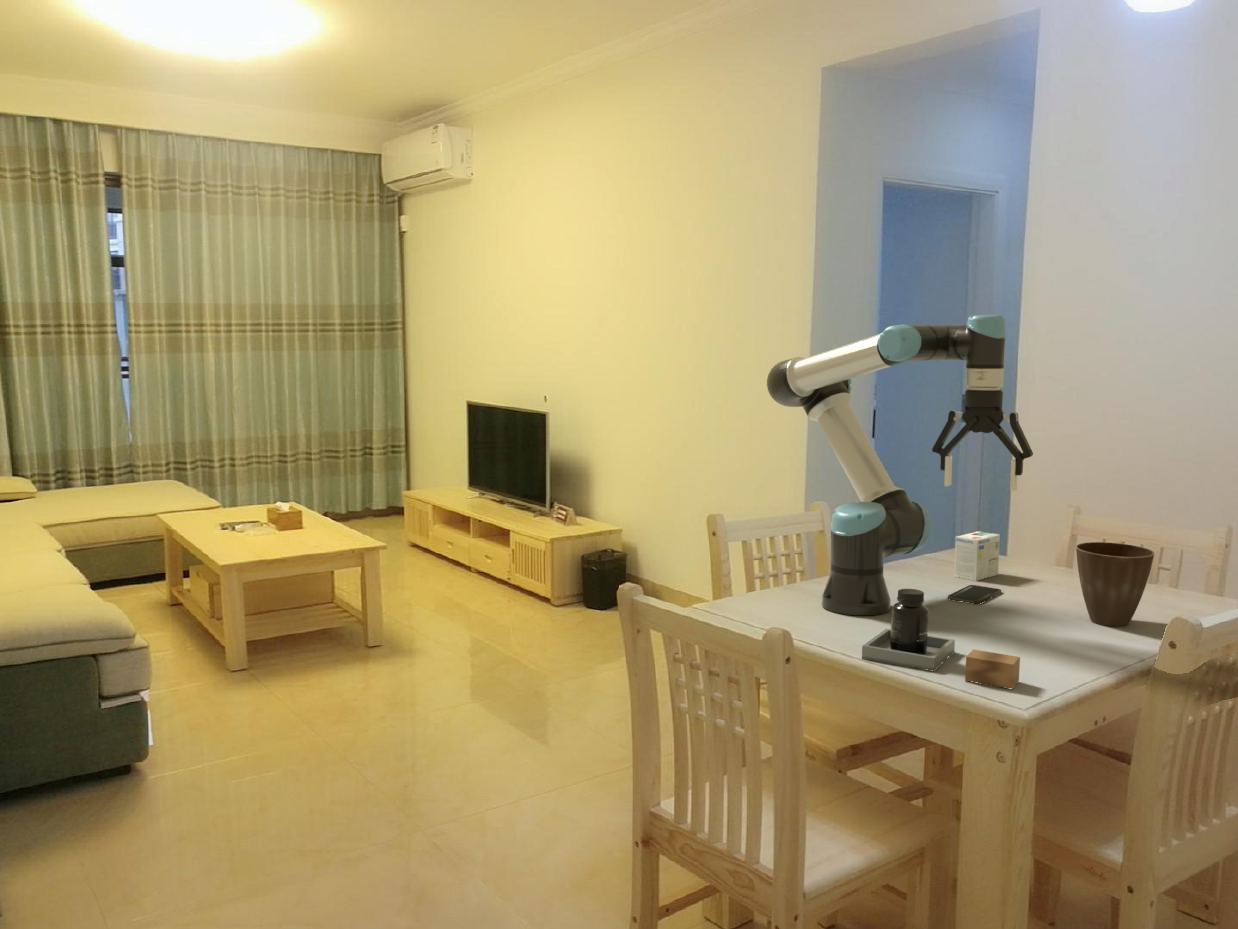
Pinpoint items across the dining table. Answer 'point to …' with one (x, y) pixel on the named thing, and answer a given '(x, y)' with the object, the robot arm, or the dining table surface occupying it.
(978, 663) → the block
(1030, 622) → the dining table surface
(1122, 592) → the plant pot
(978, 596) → the phone
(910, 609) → the supplement bottle
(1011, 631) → the dining table surface
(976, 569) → the light bulb box
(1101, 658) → the dining table surface
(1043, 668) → the dining table surface
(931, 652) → the tray
